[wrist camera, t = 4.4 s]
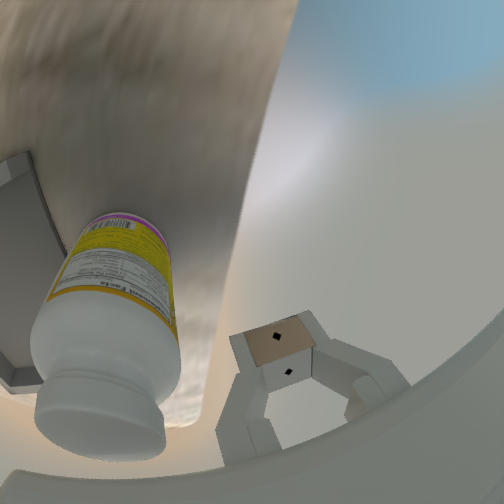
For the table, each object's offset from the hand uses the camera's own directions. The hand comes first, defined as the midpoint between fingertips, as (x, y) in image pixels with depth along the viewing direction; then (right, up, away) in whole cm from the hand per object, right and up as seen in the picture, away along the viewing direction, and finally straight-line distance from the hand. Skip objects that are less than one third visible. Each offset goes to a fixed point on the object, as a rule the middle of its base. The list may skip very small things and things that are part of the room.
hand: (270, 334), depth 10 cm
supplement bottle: (-9, +3, +8) cm, 12 cm away
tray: (-20, 0, +5) cm, 21 cm away
